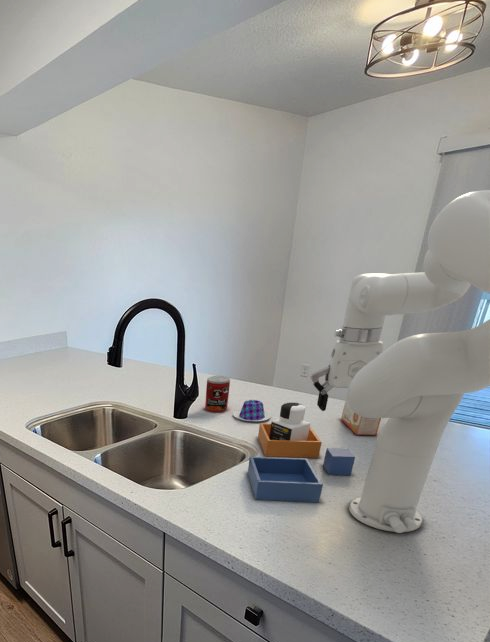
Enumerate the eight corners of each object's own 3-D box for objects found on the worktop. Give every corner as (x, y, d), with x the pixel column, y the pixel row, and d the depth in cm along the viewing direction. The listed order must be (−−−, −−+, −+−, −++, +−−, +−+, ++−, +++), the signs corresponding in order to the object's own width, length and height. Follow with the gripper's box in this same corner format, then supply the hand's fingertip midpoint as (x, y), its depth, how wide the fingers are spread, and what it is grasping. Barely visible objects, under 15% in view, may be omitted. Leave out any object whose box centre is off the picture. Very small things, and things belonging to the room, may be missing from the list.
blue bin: (319, 502, 96) (323, 484, 94) (255, 499, 99) (258, 481, 97) (304, 475, 108) (307, 458, 106) (247, 473, 110) (249, 456, 108)
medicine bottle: (267, 443, 124) (273, 403, 119) (286, 438, 127) (292, 399, 121) (287, 452, 119) (294, 410, 113) (306, 446, 121) (314, 405, 116)
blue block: (350, 475, 106) (355, 456, 104) (328, 474, 107) (332, 456, 105) (344, 466, 111) (348, 448, 109) (322, 465, 112) (326, 448, 109)
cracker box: (377, 436, 126) (397, 364, 117) (355, 435, 128) (372, 364, 118) (360, 419, 139) (377, 353, 129) (340, 419, 140) (355, 353, 130)
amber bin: (318, 457, 116) (321, 442, 114) (265, 456, 119) (267, 440, 116) (305, 438, 128) (308, 424, 125) (257, 437, 130) (259, 423, 128)
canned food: (204, 412, 153) (206, 381, 148) (205, 405, 159) (207, 375, 154) (227, 413, 151) (230, 382, 146) (227, 405, 157) (230, 375, 152)
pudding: (259, 409, 152) (261, 395, 149) (278, 421, 141) (280, 405, 139) (226, 413, 150) (228, 398, 148) (243, 425, 140) (245, 409, 138)
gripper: (322, 339, 94) (308, 414, 102) (412, 337, 91) (390, 414, 99) (313, 333, 101) (300, 404, 108) (396, 331, 97) (377, 404, 105)
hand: (343, 409), depth 103 cm, fingers open, 9 cm apart
